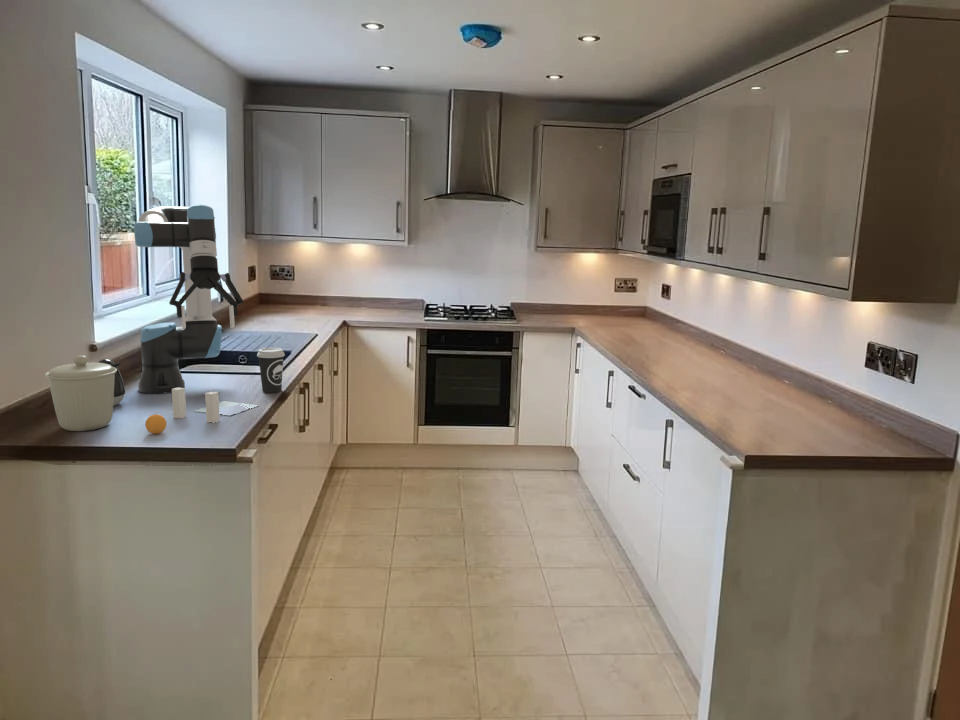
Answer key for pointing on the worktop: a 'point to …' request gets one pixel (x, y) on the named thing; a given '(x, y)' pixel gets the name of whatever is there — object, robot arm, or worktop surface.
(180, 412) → the post
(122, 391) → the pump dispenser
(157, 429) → the ball
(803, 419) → the worktop surface
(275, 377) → the coffee cup
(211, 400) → the post
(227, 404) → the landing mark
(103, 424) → the canister
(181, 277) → the robot arm
